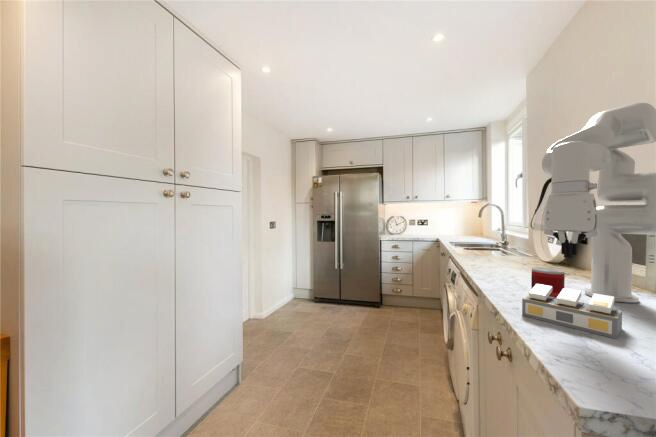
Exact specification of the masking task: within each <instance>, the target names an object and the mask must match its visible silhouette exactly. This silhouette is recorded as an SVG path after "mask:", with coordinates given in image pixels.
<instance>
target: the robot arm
mask: <svg viewBox="0 0 656 437" xmlns="http://www.w3.org/2000/svg"><path fill="white" fill-rule="evenodd" d="M652 143H656V108H655V107H654V106H653V105H652V104H650V103H647V102H636V103H632V104H628V105H623V106H621V107H615V108H611V109H607V110H603V111H601V112H598V113H596V114H595V115H593V116H591V118H590V119H589V120H588V122H587V123H586V124H585V125H584V126H583V128H582V129H581V130H579V131H577V132H574V133H571V134H570V135H568V136H566V137H564V138H562V139H559V140H558V141H556V142H555V143H553V144H551V146H550V147H549V148H548V149H547V151H546V152H545V153H544V154H543V157H542V160H541V168H542V170H543V172H544V173H545V174H546V175H549V176H551V194H550V195H548V196H547V201H546V205H545V212H544V228H545V229H544V231H543V234H544V235H547V236H552V237H554V238H555V239H557V240H558V241H559V243H561V249H560V250H561V252H560V253H561V255H563V258H564V259H565V258H566V259H568V258H569V259H575V256H578V252H579V251H578V250H579V248H578V244H579V242H581V241H583V240H584V239H586V238H591V270H590V271H591V273H590V274H591V275H590V276H591V282H590V286H591V288H586V289H584V293H585V295H587V296H589V297H592V296H593V294H594V293H596V294H602V295H608V296H614V301H615V302H618V303H628V304H630V303H632V304H633V303H639V302H640V301H639V300H640V298H639V297H638V296H635V295H633V294H632V287H633V286H632V283H633V281H632V280H633V270H632V269H633V265H632V264H633V248H632V245H631V243H630V242H629V241H628V240H626V239H625V238H624V237H623V236H622V234H623V235H624V234H625V235H649V236H650V235H651V236H652V235H656V172H655V171H654V172H653V171H651V172H649V171H648V172H641V173H640V172H639V173H638V172H637V173H635V170H636V169H635V168H636V161H635V159H634V158H633V157H632V156H630V155H629V154H628V153H626V152H624V151H622V150H620V149H622V148H628V147H636V146H640V145H647V144H652ZM593 172H598V179H597V182H596V183H593V182H590V173H593ZM595 189H596V190H597V191H596V192H597V193H596V194H597V198H598V200H600V201H601V202H603V203H614V204H615V203H617V204H616V205H614V204H613V205H612V204H611V205H600V206H597V201H596V199H595V198H596V197H595V195H594V193H591V190H595ZM618 203H619V204H618ZM620 203H644V204H620ZM568 232H572V235H571V240H569V239H568Z"/></svg>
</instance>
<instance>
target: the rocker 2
mask: <svg viewBox="0 0 656 437" xmlns="http://www.w3.org/2000/svg"><path fill="white" fill-rule="evenodd" d="M581 297H582V290H576V289H571V288H565V287H564V288H563V289H562V291H561V292H560V294H559V295H558V297H557V303H560V304H564V305H569V306H574V307H576V305H577V303H578V302H580V300H581Z"/></svg>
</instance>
